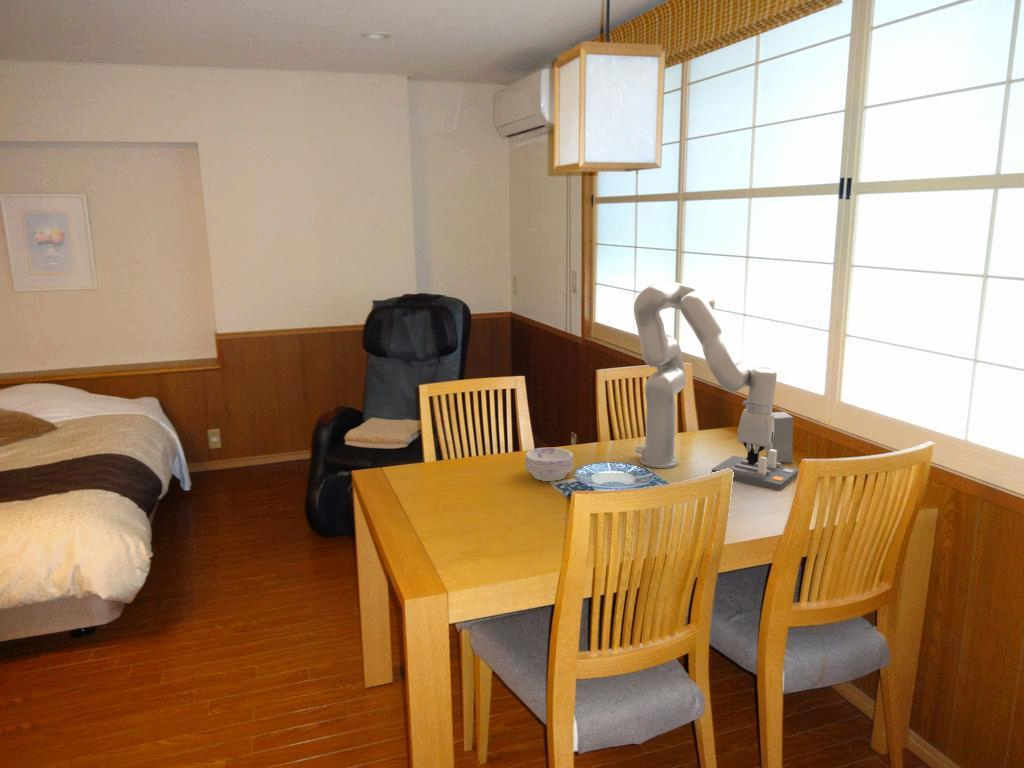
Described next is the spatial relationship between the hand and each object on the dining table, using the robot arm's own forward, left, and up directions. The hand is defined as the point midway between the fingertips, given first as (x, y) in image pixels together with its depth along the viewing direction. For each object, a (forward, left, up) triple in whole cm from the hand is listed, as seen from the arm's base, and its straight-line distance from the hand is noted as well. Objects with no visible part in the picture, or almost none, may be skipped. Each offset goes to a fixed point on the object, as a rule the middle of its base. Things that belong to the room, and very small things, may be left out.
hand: (752, 463), depth 232 cm
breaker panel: (0, +5, -5) cm, 7 cm away
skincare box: (0, +25, -6) cm, 25 cm away
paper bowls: (-51, -37, -6) cm, 64 cm away
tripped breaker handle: (+3, 0, -3) cm, 4 cm away
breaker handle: (+3, +9, -3) cm, 10 cm away
